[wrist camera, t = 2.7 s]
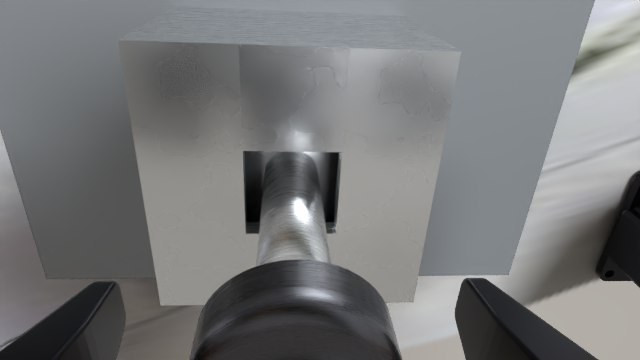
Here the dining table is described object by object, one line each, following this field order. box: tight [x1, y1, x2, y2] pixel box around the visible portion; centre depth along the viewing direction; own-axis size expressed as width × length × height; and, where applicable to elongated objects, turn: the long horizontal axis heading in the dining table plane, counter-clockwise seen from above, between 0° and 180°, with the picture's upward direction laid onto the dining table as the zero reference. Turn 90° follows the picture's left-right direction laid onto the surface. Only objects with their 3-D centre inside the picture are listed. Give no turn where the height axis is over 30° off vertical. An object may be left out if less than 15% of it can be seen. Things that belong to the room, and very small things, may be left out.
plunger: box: [190, 151, 402, 360], centre depth 10 cm, size 6×6×9 cm
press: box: [118, 6, 461, 306], centre depth 15 cm, size 8×8×6 cm
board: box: [0, 0, 595, 279], centre depth 18 cm, size 22×16×2 cm
